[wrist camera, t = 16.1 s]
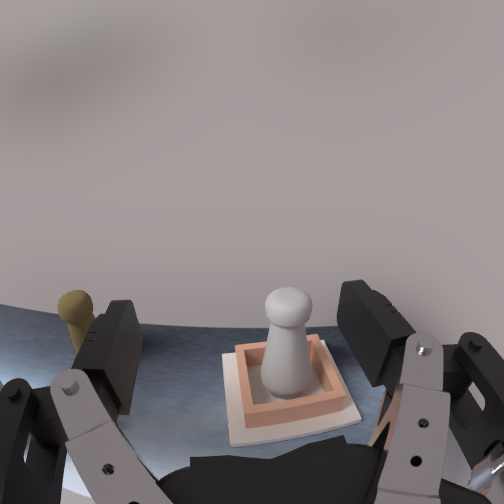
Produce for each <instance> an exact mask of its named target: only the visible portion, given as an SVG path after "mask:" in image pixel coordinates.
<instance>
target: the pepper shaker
mask: <svg viewBox="0 0 504 504" xmlns="http://www.w3.org/2000/svg"><path fill="white" fill-rule="evenodd" d="M92 312H93V303H92V300H91V298H90V296H89V295H88V294H87V293H86V292H85V291H82V290H74V291H70V292H68V293H66V294H65V295H63V296H62V297H61V298H60V300H59V301H58V313H59V315H60V317H61V318H62V319H63V321H64V322H66V323H67V325H68V328H69V332H70V335H71V338H72V341H73V344H74V347H75V350H76V353H77V354H78V351H79V349H80V347H81V345H82V342H84V338H85V336H86V334H87V331H88V329H89V327H90V325H91V323H92V322H93V321H94V320H95V319H96V318H95V317H94V315H93V313H92Z"/></svg>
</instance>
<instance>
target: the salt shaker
mask: <svg viewBox="0 0 504 504" xmlns="http://www.w3.org/2000/svg"><path fill="white" fill-rule="evenodd" d="M265 311H266V315H267V318H268V320H269V321H270V322H271V323H270V328H269V333H268V338H267V343H266V348H265V353H264V358H263V363H262V367H261V372H260V373H261V380H262V384H263V385H264V386H265V387H266V388H267V390H268V391H269V392H270V393H271V395H272V396H273V397H275V398H279V399H284V400H289V399H293V398H294V397H296V396H298V395H300V394H302V393H303V392H304V391H305V390H306V389H307V388H308V387H309V386H310V383H311V380H312V376H313V371H312V365H311V359H310V353H309V347H308V342H307V336H306V329H305V323H306V322H307V321H308V320H309V318H310V315H311V312H312V300H311V298H310V296H309V295H308V294H307V293H306V292H304V291H303V290H301V289H298V288H294V287H283V288H279V289H277V290H275V291H273V292H272V293H270V294H269V296H268V297H267V299H266V302H265Z"/></svg>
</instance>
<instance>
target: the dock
mask: <svg viewBox="0 0 504 504" xmlns="http://www.w3.org/2000/svg"><path fill="white" fill-rule="evenodd" d="M307 342H308V347H309V353H310V359H311V365H312V371H313V376H312V380H311V383H310V386H309V387H308V388H307V389H306V390H305V391H304V392H303V393H302V394H300V395H298V396H296V397H294V398H293V399H289V400H284V399H279V398H275V397H273V396H272V395H271V393H270V392H269V391H268V390H267V388H266V387H265V386H264V385H263V384H262V380H261V373H260V372H261V367H262V363H263V358H264V353H265V348H266V343H267V342H259V343H251V344H242V345H235V351H236V353H227V354H222V359H223V372H224V385H225V397H226V408H227V419H228V429H229V439H230V446H231V447H241V446H250V445H258V444H266V443H272V442H279V441H285V440H290V439H295V438H301V437H305V436H310V435H315V434H319V433H323V432H327V431H331V430H335V429H339V428H343V427H346V426H350V425H353V424H357V423H360V422H361V419H362V418H361V416H360V414H359V412H358V410H357V407H356V405H355V403H354V401H353V399H352V397H351V395H350V393H349V391H348V389H347V387H346V385H345V382H344V380H343V378H342V376H341V374H340V372H339V370H338V368H337V366H336V364H335V362H334V360H333V358H332V356H331V354H330V352H329V350H328V348H327V346H326V344H325V342H324V340H321V341H320V339H319V337H318V335H317V334H314V335H308V336H307Z"/></svg>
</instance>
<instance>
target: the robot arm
mask: <svg viewBox="0 0 504 504" xmlns="http://www.w3.org/2000/svg"><path fill="white" fill-rule="evenodd" d="M337 323H338V327H339V329H340V331H341V333H342V334H343V336H344V338H345V340H346V341H347V343H348V345H349V347H350V348H351V350H352V352H353V354H354V355H355V357H356V359H357V361H358V362H359V364H360V366H361V368H362V369H363V371H364V373H365V375H366V377H367V378H368V380H369V382H370V384H371V386H372V387H377V386H380V385H383V384H384V386H385V387H386V390H385V392H384V394H383V398H382V402H381V405H380V409H379V413H378V416H377V419H376V423H375V426H374V429H373V432H372V435H371V437H370V439H369V441H368V443H367V445H362V444H347V443H346V440H345V438H344V435H342V436H338V437H334V438H330V439H326V440H322V441H318V442H314V443H309V444H306V445H304V446H302V447H300V448H297V449H295V450H293V451H290V452H288V453H286V454H283V455H281V456H278V457H276V458H273V459H259V458H248V457H239V456H231V455H225V456H207V457H190V466H189V467H185V468H182V469H179V470H176V471H174V472H172V473H170V474H168V475H166V476H165V477H163V478H161V479H160V480H159V479H158V478H157V477H156V476H155V475H154V473H153V472H152V471H151V470H150V469H149V467H148V466H147V465H146V464H145V462H144V461H143V460H142V458H141V457H140V456H139V454H138V453H137V452H136V450H135V449H134V448H133V446H132V445H131V443H130V442H129V440H128V439H127V437H126V436H125V434H124V433H123V431H122V430H121V428H120V427H119V425H118V424H117V418H118V414H120V415H129V412H130V406H131V401H132V395H133V390H134V385H135V379H136V374H137V370H138V365H139V360H140V356H141V351H142V346H143V339H142V332H141V329H140V326H139V322H138V319H137V316H136V312H135V309H134V305H133V303H132V301H131V300H114V301H111V302H110V305H109V306H108V309H107V311H106V313H105V314H100V315H99V316H98V317H97V318H96V319H95V320H94V321H93V322H92V323H91V325H90V327H89V329H88V331H87V334H86V336H85V338H84V342H82V345H81V347H80V349H79V351H78V354H77V356H76V358H75V361H74V363H73V366H72V368H71V369H69V370H66V371H63V372H61V373H60V374H58V375H57V376H56V377H55V378H54V380H53V381H52V383H51V386H48V387H42V388H36V389H32V388H31V386H30V385H29V383H28V382H27V381H26V380H24V379H21V378H17V379H13V380H10V381H9V382H7V383H6V384H5V385H3V384H2V382H1V381H0V504H60V501H61V490H62V482H63V474H64V467H65V460H66V454H67V450H68V452H69V455H70V457H71V459H72V461H73V463H74V465H75V467H76V469H77V471H78V473H79V475H80V477H81V479H82V481H83V482H84V484H85V486H86V488H87V490H88V491H89V493H90V495H91V496H92V498H93V500H94V501H95V503H96V504H504V360H503V359H502V358H501V356H500V355H499V354H498V353H497V351H496V350H495V349H494V348H493V347H492V345H491V344H490V343H489V342H488V341H487V340H486V339H485V338H484V337H483V336H481V335H480V334H477V333H474V332H467V333H464V334H463V335H462V336H461V337H460V340H459V342H458V344H453V345H442V344H441V343H440V342H439V341H438V340H437V339H436V338H435V337H433V336H431V335H429V334H425V333H416V331H415V330H414V329H413V328H412V327H411V326H410V324H409V323H408V322H407V321H406V320H405V318H403V316H402V315H401V314H400V313H399V312H398V311H397V309H396V308H395V307H394V306H392V304H391V302H390V301H389V300H388V299H387V298H386V297H385V296H384V295H382V294H380V293H379V292H377V291H375V290H371V289H370V287H369V286H368V285H367V284H366V283H365V282H364V281H363V280H354V281H346V282H343V284H342V287H341V293H340V299H339V305H338V312H337ZM472 382H474V383H475V385H476V386H477V388H478V389H479V391H480V392H481V394H482V395H483V397H484V399H485V408H484V410H483V411H482V410H481V408H480V407H479V405H478V404H477V402H476V401H475V399H474V397H473V396H472V394H471V393H470V391H469V390H468V388H469V386H470V385H471V383H472ZM448 427H450V429H451V431H452V432H453V435H454V436H455V438H456V440H457V442H458V444H459V446H460V448H461V450H462V452H463V454H464V456H465V458H466V460H467V462H468V464H469V466H470V468H471V470H472V473H471V480H470V481H469V482H468V485H467V487H468V488H465V487H462V486H459V485H457V484H454V483H452V482H449V481H447V480H445V479H442V478H441V476H442V471H443V465H444V459H445V452H446V445H447V437H448ZM28 435H29V436H30V437H31V442H30V446H29V450H28V454H27V458H26V463H25V462H24V451H25V447H26V443H27V439H28Z"/></svg>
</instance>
